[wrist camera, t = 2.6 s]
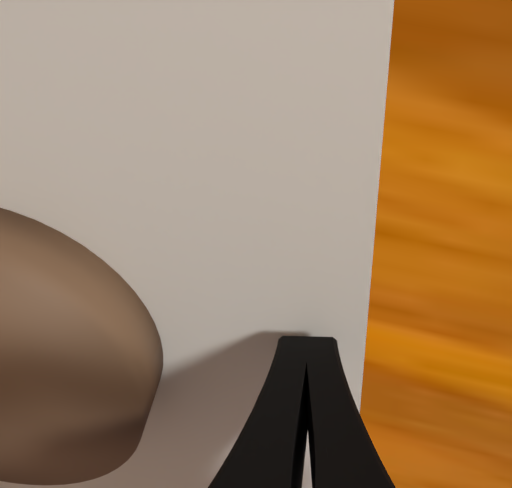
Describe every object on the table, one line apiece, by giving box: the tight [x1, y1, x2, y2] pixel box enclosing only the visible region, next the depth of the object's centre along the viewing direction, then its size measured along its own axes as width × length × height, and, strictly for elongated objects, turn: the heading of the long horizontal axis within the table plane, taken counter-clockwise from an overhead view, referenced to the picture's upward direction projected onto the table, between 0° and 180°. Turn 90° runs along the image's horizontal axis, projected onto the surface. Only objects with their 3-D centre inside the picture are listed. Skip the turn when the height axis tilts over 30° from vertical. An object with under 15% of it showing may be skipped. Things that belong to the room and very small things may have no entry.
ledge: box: [0, 0, 394, 488], centre depth 15 cm, size 18×16×3 cm
